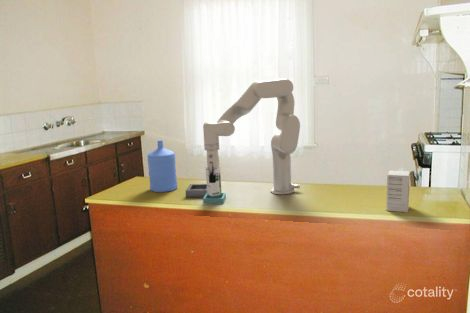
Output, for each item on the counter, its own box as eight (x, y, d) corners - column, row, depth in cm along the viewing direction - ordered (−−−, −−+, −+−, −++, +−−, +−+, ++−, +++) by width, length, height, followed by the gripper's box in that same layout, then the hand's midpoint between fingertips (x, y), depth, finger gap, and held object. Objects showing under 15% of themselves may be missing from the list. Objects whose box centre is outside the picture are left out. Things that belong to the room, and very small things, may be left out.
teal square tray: (225, 197, 228) (225, 192, 227) (223, 203, 218) (223, 198, 217) (206, 197, 229) (206, 193, 228) (203, 203, 219) (203, 198, 218)
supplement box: (408, 212, 192) (409, 176, 189) (386, 210, 196) (387, 174, 192) (408, 206, 201) (410, 170, 197) (387, 204, 204) (388, 169, 201)
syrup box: (211, 196, 219) (210, 168, 216) (206, 193, 224) (205, 166, 221) (221, 194, 221) (220, 167, 218) (216, 192, 226) (215, 165, 223)
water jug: (168, 193, 240) (164, 143, 234) (144, 191, 246) (140, 143, 240) (182, 186, 254) (179, 139, 248) (159, 184, 260) (155, 138, 254)
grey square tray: (212, 190, 241) (212, 183, 241) (209, 197, 229) (208, 190, 228) (190, 191, 243) (190, 184, 242) (186, 197, 230) (185, 190, 230)
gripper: (216, 149, 209) (218, 185, 212) (221, 143, 226) (222, 176, 229) (201, 150, 209) (203, 185, 213) (207, 143, 226) (208, 176, 230)
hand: (213, 180), depth 221 cm, fingers closed on syrup box, 7 cm apart
